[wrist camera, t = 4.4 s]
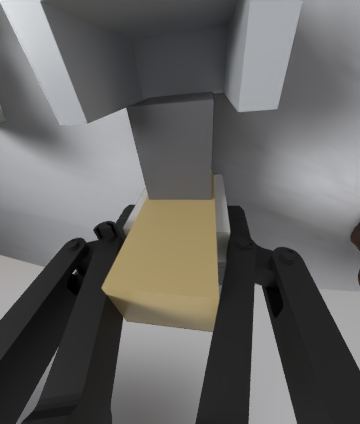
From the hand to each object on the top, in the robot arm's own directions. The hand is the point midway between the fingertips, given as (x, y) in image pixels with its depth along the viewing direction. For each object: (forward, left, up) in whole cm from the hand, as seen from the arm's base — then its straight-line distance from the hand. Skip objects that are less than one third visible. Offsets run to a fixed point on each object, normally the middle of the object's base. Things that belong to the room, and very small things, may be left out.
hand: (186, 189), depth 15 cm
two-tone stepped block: (0, -1, 0) cm, 2 cm away
